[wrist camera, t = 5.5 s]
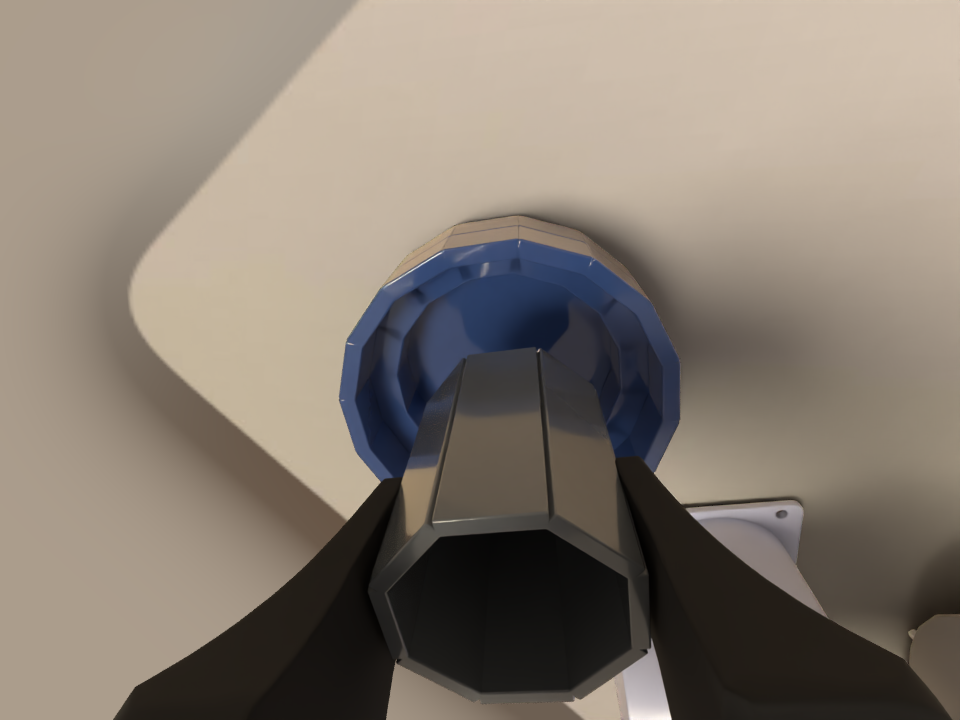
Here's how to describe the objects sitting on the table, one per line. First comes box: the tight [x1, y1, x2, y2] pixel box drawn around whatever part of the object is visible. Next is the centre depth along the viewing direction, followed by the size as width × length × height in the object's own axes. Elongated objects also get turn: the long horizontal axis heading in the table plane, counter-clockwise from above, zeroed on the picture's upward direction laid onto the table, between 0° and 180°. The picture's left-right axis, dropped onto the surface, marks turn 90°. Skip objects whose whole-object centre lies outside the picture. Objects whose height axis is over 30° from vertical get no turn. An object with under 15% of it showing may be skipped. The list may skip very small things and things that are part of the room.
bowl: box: [339, 215, 681, 482], centre depth 19 cm, size 12×12×4 cm
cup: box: [367, 347, 651, 704], centre depth 13 cm, size 5×5×7 cm
